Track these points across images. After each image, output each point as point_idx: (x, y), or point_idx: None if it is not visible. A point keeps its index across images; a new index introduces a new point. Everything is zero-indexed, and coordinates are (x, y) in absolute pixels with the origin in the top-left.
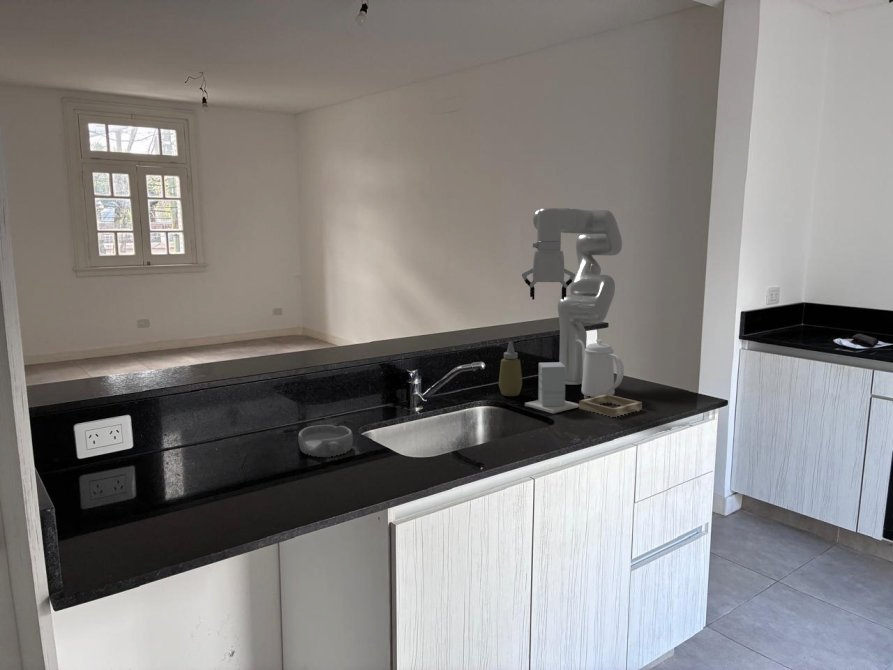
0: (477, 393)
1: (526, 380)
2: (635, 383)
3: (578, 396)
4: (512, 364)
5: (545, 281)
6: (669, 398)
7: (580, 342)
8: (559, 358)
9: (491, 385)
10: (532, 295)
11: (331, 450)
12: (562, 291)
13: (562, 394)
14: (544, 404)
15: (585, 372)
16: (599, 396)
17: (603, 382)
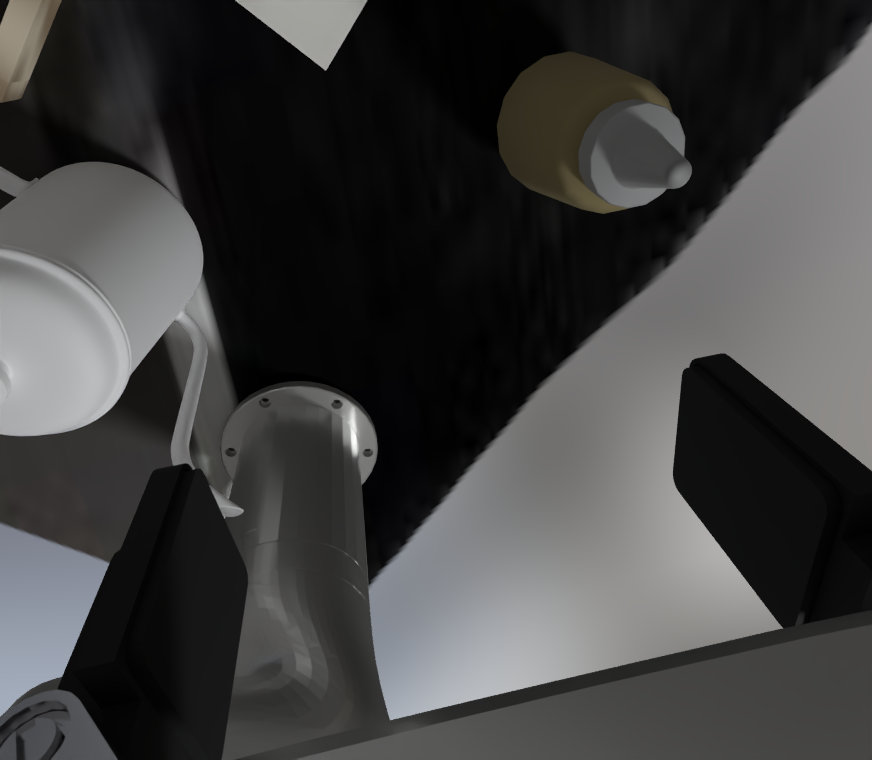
0: (700, 103)
1: (493, 405)
2: (22, 489)
3: (202, 177)
4: (596, 77)
5: (665, 664)
6: None
7: None
8: (361, 500)
9: (635, 279)
10: (761, 388)
11: None
12: (151, 584)
13: None
14: None
15: (141, 235)
16: (18, 20)
17: (29, 190)
